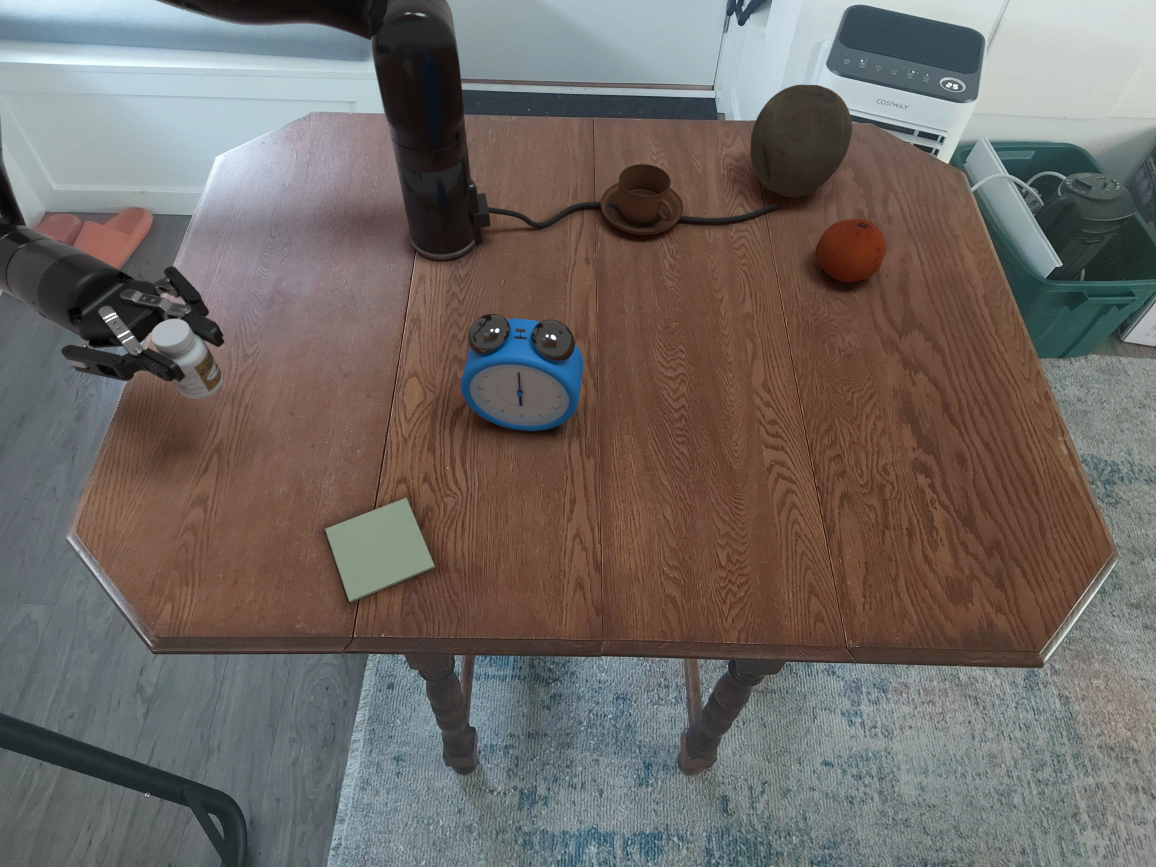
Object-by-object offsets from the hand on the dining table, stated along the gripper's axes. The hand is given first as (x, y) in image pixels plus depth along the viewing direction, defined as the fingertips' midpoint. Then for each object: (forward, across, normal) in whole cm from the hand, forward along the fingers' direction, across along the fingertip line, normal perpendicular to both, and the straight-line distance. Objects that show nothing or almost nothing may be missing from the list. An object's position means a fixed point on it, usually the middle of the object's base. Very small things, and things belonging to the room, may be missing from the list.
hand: (199, 355), depth 71 cm
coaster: (+19, -2, +18) cm, 26 cm away
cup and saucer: (+18, +60, +18) cm, 65 cm away
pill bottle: (-3, 0, +6) cm, 7 cm away
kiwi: (+34, +78, +18) cm, 87 cm away
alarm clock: (+22, +21, +18) cm, 35 cm away
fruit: (+47, +64, +18) cm, 82 cm away
